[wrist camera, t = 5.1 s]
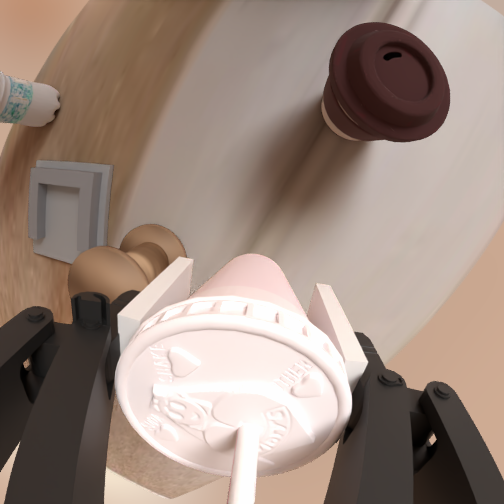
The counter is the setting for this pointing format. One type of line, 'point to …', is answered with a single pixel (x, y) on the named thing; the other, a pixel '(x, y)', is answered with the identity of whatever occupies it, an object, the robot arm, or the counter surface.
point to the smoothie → (235, 379)
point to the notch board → (68, 207)
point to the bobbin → (125, 262)
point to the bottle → (27, 102)
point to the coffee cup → (384, 86)
